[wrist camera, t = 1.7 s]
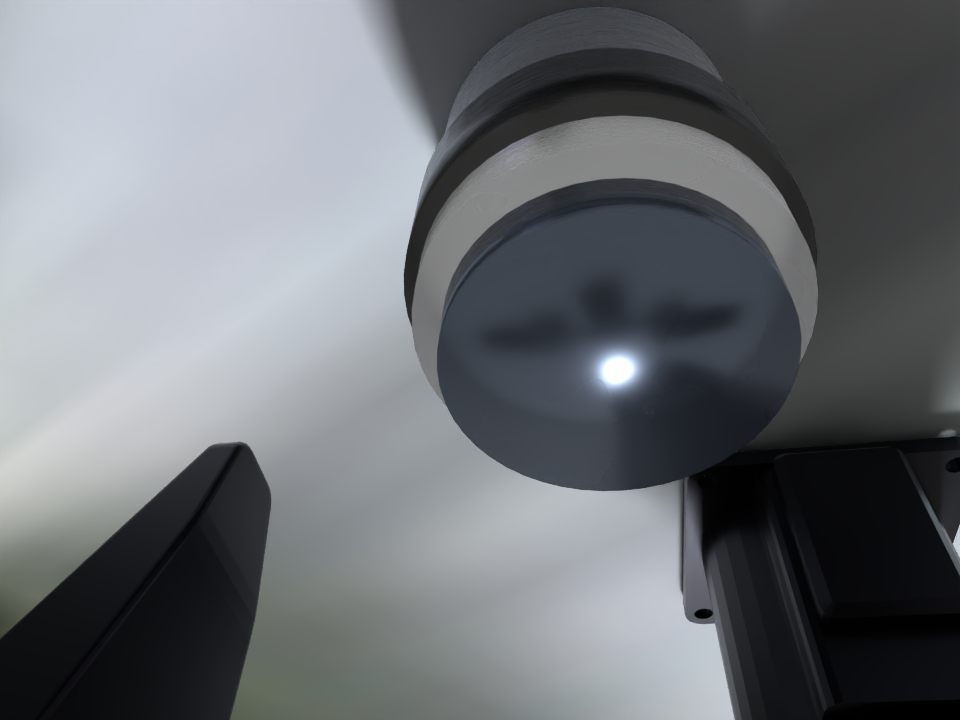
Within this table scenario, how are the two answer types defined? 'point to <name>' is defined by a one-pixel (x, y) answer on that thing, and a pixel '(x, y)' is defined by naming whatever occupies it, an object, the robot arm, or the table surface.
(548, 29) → the lens
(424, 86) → the table surface
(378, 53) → the table surface
